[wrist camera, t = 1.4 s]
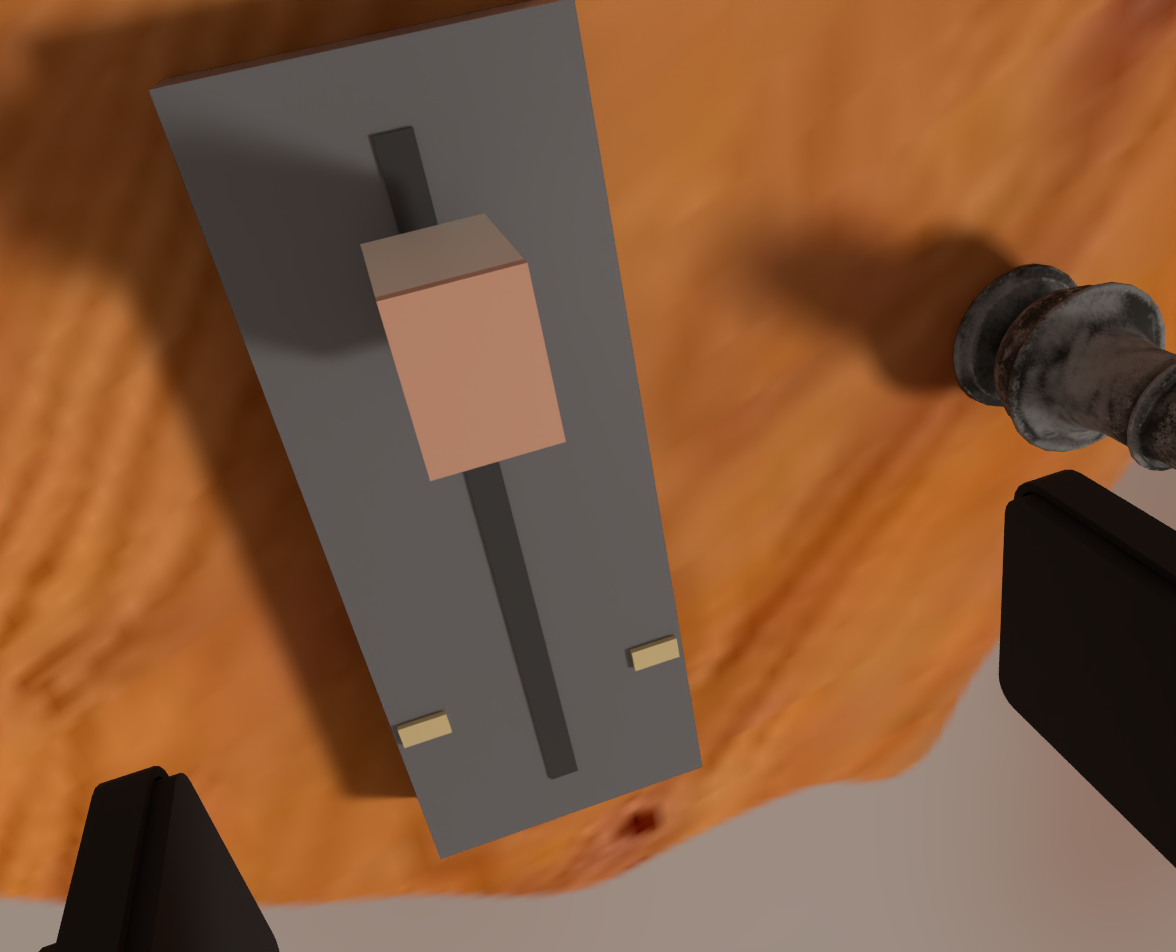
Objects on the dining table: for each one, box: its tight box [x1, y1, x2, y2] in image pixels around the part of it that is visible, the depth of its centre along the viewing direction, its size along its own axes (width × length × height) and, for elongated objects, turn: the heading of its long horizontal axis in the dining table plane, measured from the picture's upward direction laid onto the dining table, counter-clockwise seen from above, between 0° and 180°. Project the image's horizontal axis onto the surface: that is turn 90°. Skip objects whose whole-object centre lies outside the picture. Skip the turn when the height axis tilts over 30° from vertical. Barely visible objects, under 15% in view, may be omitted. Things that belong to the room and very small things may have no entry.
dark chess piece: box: [953, 265, 1176, 471], centre depth 30 cm, size 6×6×12 cm
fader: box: [360, 213, 566, 481], centre depth 22 cm, size 4×3×6 cm
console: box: [149, 0, 702, 859], centre depth 30 cm, size 26×10×3 cm, turn 11°
